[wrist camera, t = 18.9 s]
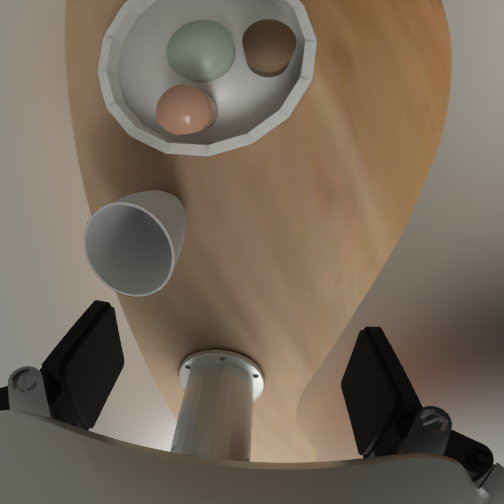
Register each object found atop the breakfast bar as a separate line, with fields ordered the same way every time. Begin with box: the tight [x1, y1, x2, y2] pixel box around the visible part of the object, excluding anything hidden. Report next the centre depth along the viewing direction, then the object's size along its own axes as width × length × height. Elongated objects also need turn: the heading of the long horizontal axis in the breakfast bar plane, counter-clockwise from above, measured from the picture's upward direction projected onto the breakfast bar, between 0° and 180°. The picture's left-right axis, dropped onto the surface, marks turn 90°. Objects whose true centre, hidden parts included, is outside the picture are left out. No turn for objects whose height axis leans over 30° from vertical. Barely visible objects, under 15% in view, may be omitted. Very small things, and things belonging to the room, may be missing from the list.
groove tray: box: [98, 0, 317, 157], centre depth 22 cm, size 20×20×4 cm
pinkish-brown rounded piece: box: [156, 85, 218, 135], centre depth 23 cm, size 4×4×6 cm
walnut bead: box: [242, 19, 296, 77], centre depth 20 cm, size 4×4×6 cm
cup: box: [84, 190, 187, 297], centre depth 26 cm, size 8×8×10 cm
